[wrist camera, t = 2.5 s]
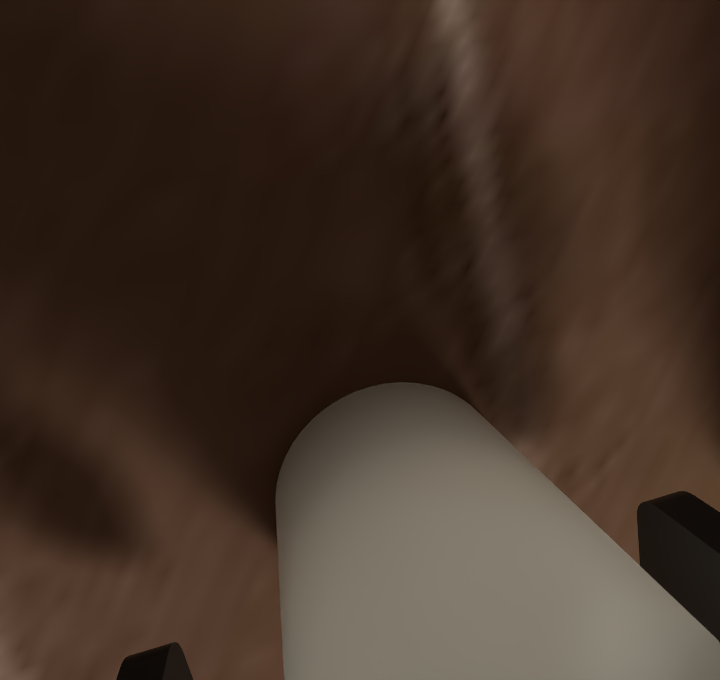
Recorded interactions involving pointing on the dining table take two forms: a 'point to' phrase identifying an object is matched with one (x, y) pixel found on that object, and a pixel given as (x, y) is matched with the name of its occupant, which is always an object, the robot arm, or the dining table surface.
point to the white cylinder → (456, 559)
